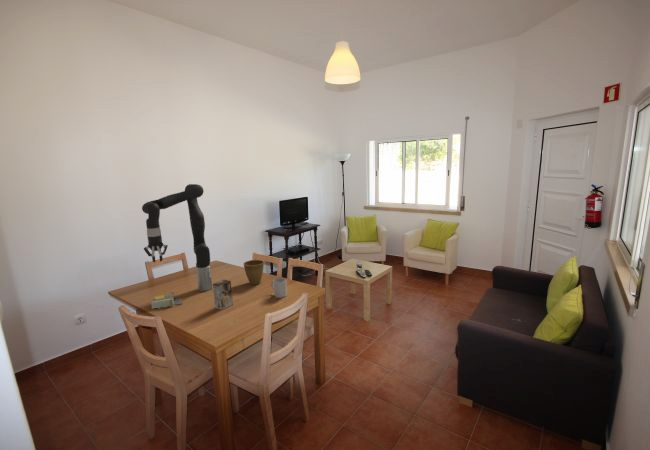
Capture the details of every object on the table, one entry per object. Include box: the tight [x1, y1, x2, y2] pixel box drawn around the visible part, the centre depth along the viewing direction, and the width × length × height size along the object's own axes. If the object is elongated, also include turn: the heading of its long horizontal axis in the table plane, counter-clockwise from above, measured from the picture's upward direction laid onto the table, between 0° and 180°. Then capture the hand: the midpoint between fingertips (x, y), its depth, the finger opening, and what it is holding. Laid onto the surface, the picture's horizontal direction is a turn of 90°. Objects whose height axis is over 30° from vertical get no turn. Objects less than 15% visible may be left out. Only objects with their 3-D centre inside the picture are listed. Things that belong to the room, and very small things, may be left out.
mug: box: [271, 277, 288, 299], centre depth 214 cm, size 12×8×11 cm
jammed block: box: [154, 294, 165, 301], centre depth 202 cm, size 5×5×5 cm
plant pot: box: [243, 259, 265, 286], centre depth 236 cm, size 15×15×16 cm
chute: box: [150, 291, 183, 310], centre depth 204 cm, size 17×13×5 cm
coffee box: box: [212, 279, 234, 311], centre depth 197 cm, size 9×6×16 cm
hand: (157, 261), depth 198 cm, fingers open, 3 cm apart
